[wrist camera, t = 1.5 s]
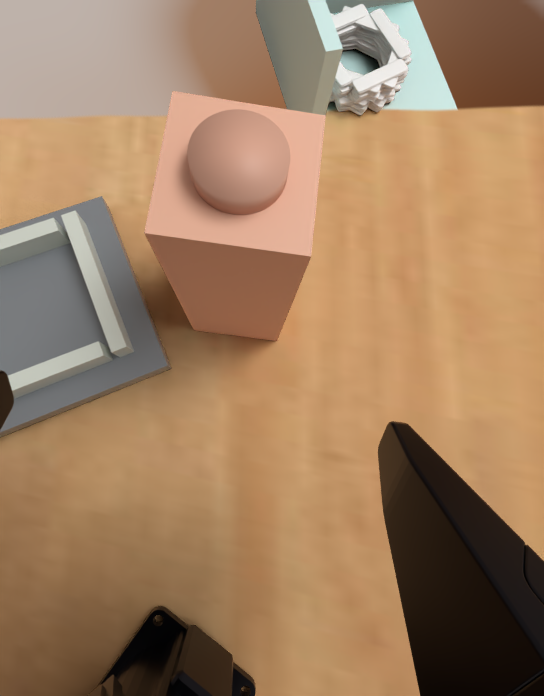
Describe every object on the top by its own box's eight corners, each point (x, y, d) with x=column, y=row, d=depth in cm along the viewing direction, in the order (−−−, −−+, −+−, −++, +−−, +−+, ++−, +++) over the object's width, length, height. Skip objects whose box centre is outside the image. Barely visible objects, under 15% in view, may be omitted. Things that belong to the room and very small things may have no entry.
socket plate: (171, 368, 23) (162, 360, 20) (-23, 446, 21) (-61, 449, 18) (108, 207, 24) (92, 180, 22) (-76, 268, 23) (-118, 247, 20)
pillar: (276, 341, 24) (315, 244, 11) (193, 330, 23) (136, 219, 11) (285, 263, 25) (330, 95, 12) (206, 252, 24) (167, 68, 12)
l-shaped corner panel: (302, 156, 26) (325, 51, 19) (255, 12, 28) (260, -133, 21) (463, 124, 28) (544, 15, 20) (408, -11, 30) (463, -154, 22)
